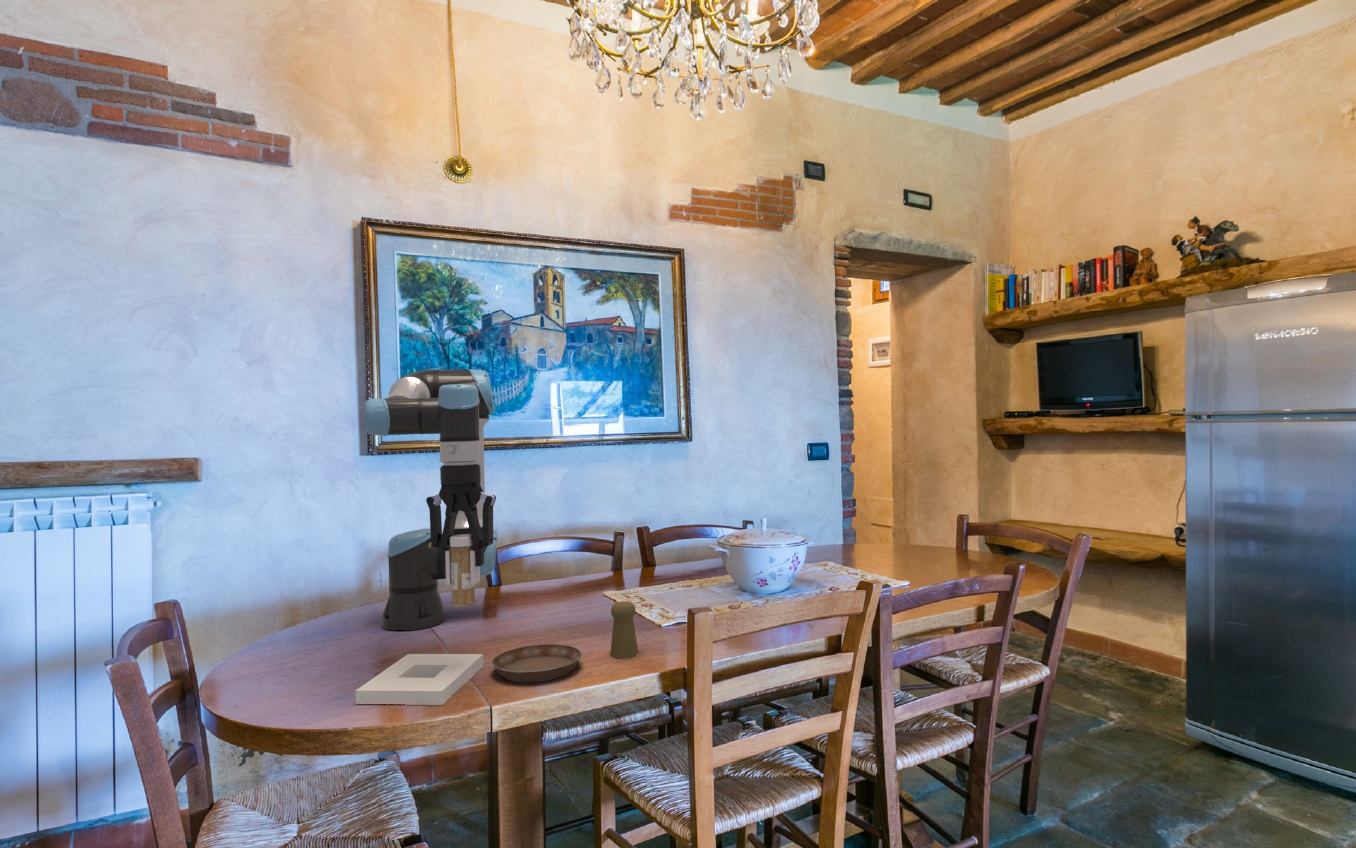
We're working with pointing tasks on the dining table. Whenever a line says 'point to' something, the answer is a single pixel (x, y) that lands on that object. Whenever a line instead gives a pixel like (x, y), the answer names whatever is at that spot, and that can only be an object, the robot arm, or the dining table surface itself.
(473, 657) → the white board with recess
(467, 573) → the sprinkles bottle
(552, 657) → the plant saucer
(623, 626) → the pepper mill
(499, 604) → the dining table surface
